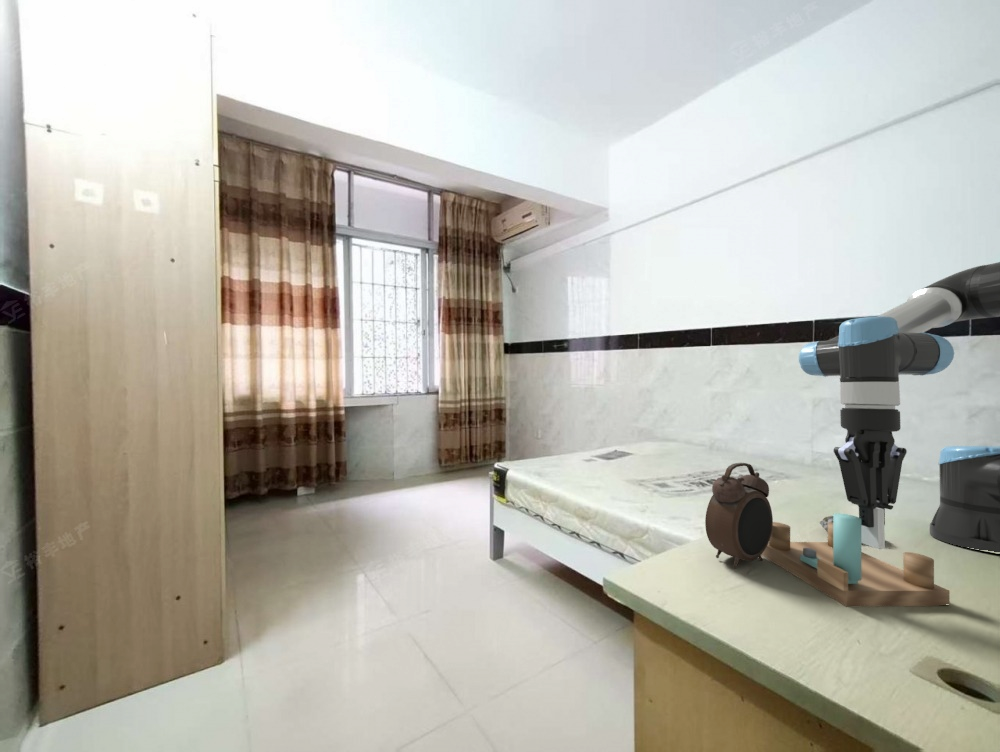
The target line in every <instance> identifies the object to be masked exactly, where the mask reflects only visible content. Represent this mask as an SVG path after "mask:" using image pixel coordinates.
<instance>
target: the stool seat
mask: <svg viewBox="0 0 1000 752" xmlns="http://www.w3.org/2000/svg"><path fill="white" fill-rule="evenodd" d="M803 548H810V549H814V550H816V551H817V557H818V558H820V559H817V569H816V568H814V567H813V566H811V565H809V564H807V563H805V562H803V561H802V560H800V555H803ZM762 556H763V557H764V558H766V559H768V561H770V562H772V563H774V564H775V565H777V566H778V567H781V569H784V570H785V571H787V572H788V573H790V574H791V575H794V576H795V577H797V578H798V579H800V580H802V581H804V582H805V583H807V584H809V585H810V586H812V587H814V588H815V589H817V590H818V591H821V593H823V594H825V595H827V596H828V597H830V598H831V599H832V600H834V601H835V600H836V601H837V603H840V604H842V605H843V606H845V607H846V608H847V607H940V606H939V605H946V604H950V599H951V598H950V590H949V589H947V588H945V587H942V586H940V585H938V584H935V560H934V558H932V557H930V556H928V555H924V554H921V553H916V552H910V551H909V552H907V551H905V552H903V558H902V560H903V563H902V564H903V567H902V568H903V569H901V568H899V567H896V566H895V565H892V564H890V563H887V562H885V561H883V560H881V559H878V558H876V557H873V556H871V555H869V554H867V553H865V552H863V551H861V580H860V581H858V584H848V572H846V571H844V570H842V569H840V568H838V567H836V566H834V565H833V522H830V523H828V532H827V541H808V542H807V541H791V526H790V525H789V524H786V523H782V522H776V521H773V527H772V533H771V537H770V540H769V543H768V545H767V547H766V549H765V550H764V552H763V553H762V554H761V557H762ZM950 605H951V604H950Z"/></svg>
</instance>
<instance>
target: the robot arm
mask: <svg viewBox="0 0 1000 752" xmlns="http://www.w3.org/2000/svg"><path fill="white" fill-rule="evenodd" d="M999 317H1000V261H999V262H995V263H990V264H989V263H988V264H983V265H978V266H974V267H971V268H968V269H964V270H962V271H959V272H956V273H954V274H951V275H949V276H947V277H944V278H942V279H940V280H938V281H935V282H933V283H931V284H929V285H927V286H924V287H922V288H921V289H919V290H917V291H915V292H913V293H912V294H911V295H910V296H908V299H907V300H906V301H905V302H903V303H901V304H899V305H897V306H895V307H893V308H891V309H889V310H887V311H884V312H883V313H880V314H879V315H877V316H868V317H867V316H866V317H858V318H852V319H848V320H845V321H843V322H842V323H841V324H840V325H839V328H838V329H839V332H838V335H836V336H835V337H832V338H831V339H828V340H818V341H813V342H808V343H807V344H805V345H803V346H802V347H801V350H800V351H799V353H798V363H799V365H800V368H801V369H802V371H803V372H804V373H805V374H807V375H809V376H818V377H819V376H820V377H821V376H822V377H825V378H826V377H834V376H835V377H837V376H838V377H839V376H840V377H839V382H840V385H839V387H840V389H839V390H840V393H839V394H840V399H839V401H840V404H841V405H844V407H842V408H841V409H840V412H839V413H840V427H841V428H843V429H845V430H846V431H847V432H846V436H845V439H844V440H845V441H844V442H845V444H844V445H842V447H839V446H835V447H834V448H833V453H834V455H835V457H836V458H837V461H838V464H839V467H840V468H839V469H840V473H841V478H842V482H843V486H844V490H845V495H846V500H847V501H848V502H850V503H851V504H852V505H857V506H858V517H859V518H861V544H863V545H866V546H868V547H871V548H874V549H878V550H883V549H886V543H885V542H886V540H885V538H886V537H885V536H886V534H885V526H886V512H885V510H886V509H887V510H893V508H894V505H895V504H896V503H897V497H898V490H899V484H900V480H901V479H900V478H901V472H902V465H903V461H904V459H905V457H906V455H907V453H908V450H907V449H906V448H905V447H899V446H897V445H896V444H895V437H894V436H893V432H899V431H900V430H901V426H902V425H901V411H899V409H896V406H897V407H898V406H900V405H901V397H900V396H901V393H900V392H901V391H900V382H899V381H900V377H899V376H900V375H901V376H902V375H911V376H925V375H934V374H937V373H940V372H942V371H944V370H945V369H947V368H948V367H949V366H950V365H951V363H953V360H954V358H955V356H954V355H955V349H954V347H953V345H952V344H951V342H950V341H949V340H948V339H947V338H944V337H943V336H940V335H937V334H932V333H928V332H927V331H930V330H931V329H935V328H943V327H945V326H948V325H951V324H953V323H956V322H957V323H958V322H962V321H968V320H969V321H971V320H977V319H988V318H989V319H990V318H999ZM938 461H939V462H938V466H939V506H938V508H937V510H936V512H935V513H934V516H933V518H932V519H931V522H930V524H929V535H930V536H931V537H933V538H934V539H937V540H938V541H940V542H944V543H946V544H949V543H950V545H952V544H953V545H952V546H956V545H958V546H957V547H959V546H962V547H961V548H963V547H969V548H974V549H979V550H988V551H994V552H1000V446H998V445H997V446H992V445H991V446H989V445H983V446H982V445H951V446H949V445H948V446H945V447H943V448H941V450H940V453H939V460H938ZM891 504H892V505H891Z"/></svg>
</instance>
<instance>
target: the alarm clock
mask: <svg viewBox="0 0 1000 752" xmlns="http://www.w3.org/2000/svg"><path fill="white" fill-rule="evenodd" d="M738 467H746V468H747V470H748V473H749V474H743V475H741V476H740V477H737V478H736V477H733V476H731V474H732V472H733V470H735V469H736V468H738ZM711 491H712V496H711V497H710V500H709V502H708V504H707V507H706V511H705V519H704V520H705V522H704V524H705V532H706V536H707V539H708V541H709V543H710V545H712V547H713V548H714V549H716V550H717V553H716V555H715V558H716V559H719V558H720V555H721V554H722V553H724V554H725V555H727V556H730V557H733V558H734V561H733V564H732V567H733V568H734V569H737V565H738V564H739V561H740V560H742V561H748V562H752V561H755V560H757V559H758V560H759V561H760V562H761V561H763V557H762V555H761V554H762V553H763V552H764V550H765V549H766V547H767V545H768V543H769V540H770V537H771V533H772V527H773V522H774V518H773V512H772V507H771V504H770V501H769V499H768V497H769V495H770V487H769V484H768V482H767V481H766V480H764V479H763V478H762V477H760V472H758V471H756V472H755V470H754V467H753V466H752V465H751V463H750V464H749V463H746V462H736V463H735V462H734V463H732V464H731V465H728V466H727V468H726V470H725V473H724V474H723V475H721V477H717V479H715V481H713V483H712V486H711Z"/></svg>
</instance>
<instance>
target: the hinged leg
mask: <svg viewBox="0 0 1000 752" xmlns="http://www.w3.org/2000/svg"><path fill="white" fill-rule="evenodd" d="M832 516H833V565H834V566H836V567H838V568H840V569H842V570H844V571H846V572H848V584H858V581H860V580H861V552H862V543H861V518H859V516H856V515H852V514H848V513H841V512H839V513H838V512H837V513H833V515H832ZM817 559H820V558H818V557H817V551H816V550H814V549H810V548H803V555H800V560H802V561H803V562H805V563H807V564H809V565H811V566H813V567H814V568H816V569H817Z"/></svg>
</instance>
